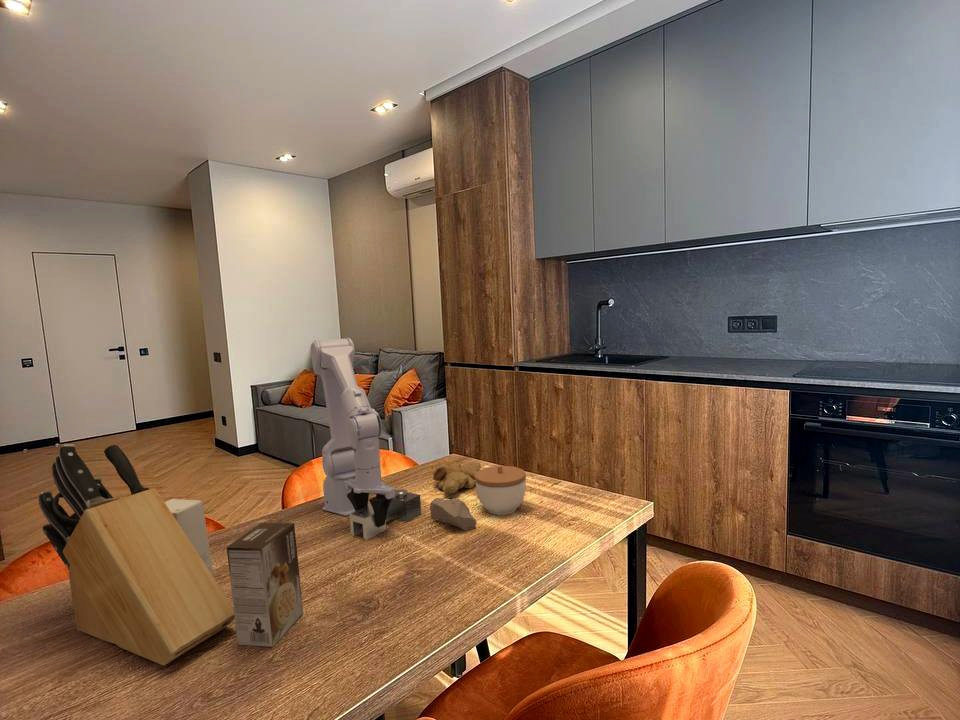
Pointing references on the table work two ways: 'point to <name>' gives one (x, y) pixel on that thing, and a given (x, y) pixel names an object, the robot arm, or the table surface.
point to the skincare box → (192, 525)
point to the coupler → (404, 506)
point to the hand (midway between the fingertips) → (371, 523)
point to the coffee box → (265, 583)
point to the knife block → (130, 563)
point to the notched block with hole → (365, 523)
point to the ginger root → (455, 476)
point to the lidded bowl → (501, 488)
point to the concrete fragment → (452, 513)
